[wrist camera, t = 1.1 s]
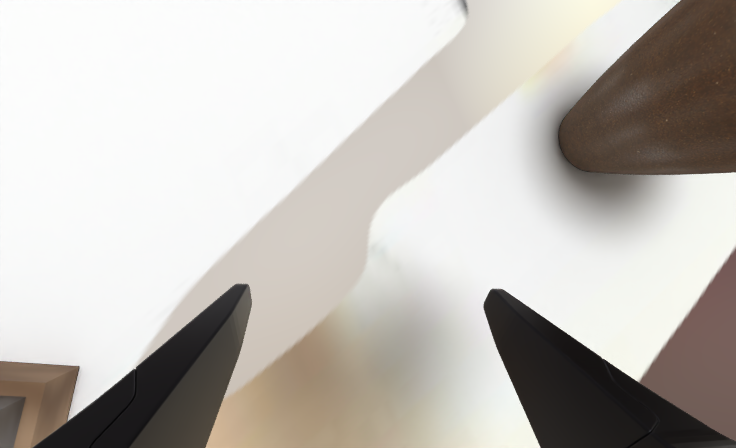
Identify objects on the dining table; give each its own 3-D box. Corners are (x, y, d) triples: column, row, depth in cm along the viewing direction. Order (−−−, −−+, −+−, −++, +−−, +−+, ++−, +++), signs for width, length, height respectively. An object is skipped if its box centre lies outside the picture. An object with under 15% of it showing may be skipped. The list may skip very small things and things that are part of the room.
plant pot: (507, 169, 28) (739, 71, 12) (550, 53, 30) (799, -163, 14) (621, 226, 29) (961, 205, 14) (655, 112, 31) (987, -23, 15)
